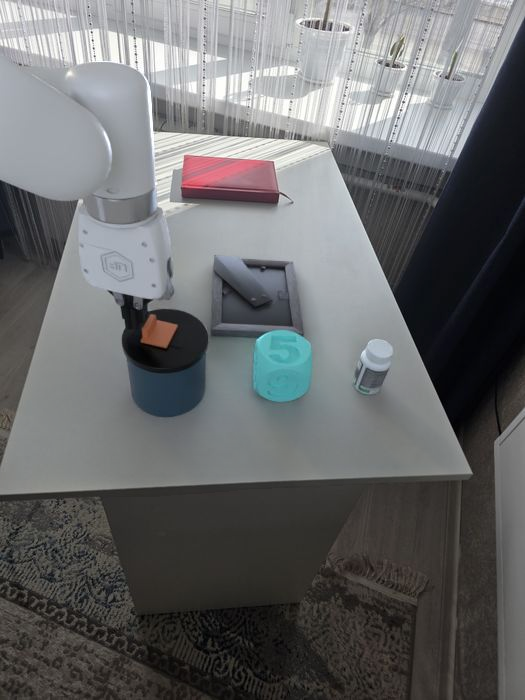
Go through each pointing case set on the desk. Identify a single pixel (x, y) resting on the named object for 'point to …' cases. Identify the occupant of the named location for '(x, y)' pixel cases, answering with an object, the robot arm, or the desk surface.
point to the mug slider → (157, 332)
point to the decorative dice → (282, 366)
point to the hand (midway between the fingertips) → (136, 323)
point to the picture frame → (254, 297)
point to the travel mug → (168, 366)
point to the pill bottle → (373, 366)
